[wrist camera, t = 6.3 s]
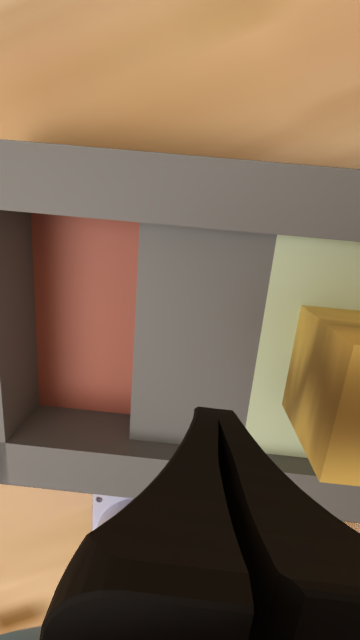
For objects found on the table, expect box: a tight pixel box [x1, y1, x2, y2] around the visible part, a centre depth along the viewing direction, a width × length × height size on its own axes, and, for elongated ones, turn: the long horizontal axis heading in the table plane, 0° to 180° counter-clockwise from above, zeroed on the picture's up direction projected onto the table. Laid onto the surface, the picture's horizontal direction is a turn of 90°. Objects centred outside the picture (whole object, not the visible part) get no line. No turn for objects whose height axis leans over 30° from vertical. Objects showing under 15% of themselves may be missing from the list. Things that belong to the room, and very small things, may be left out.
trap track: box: [0, 139, 360, 523], centre depth 19 cm, size 19×31×4 cm, turn 85°
